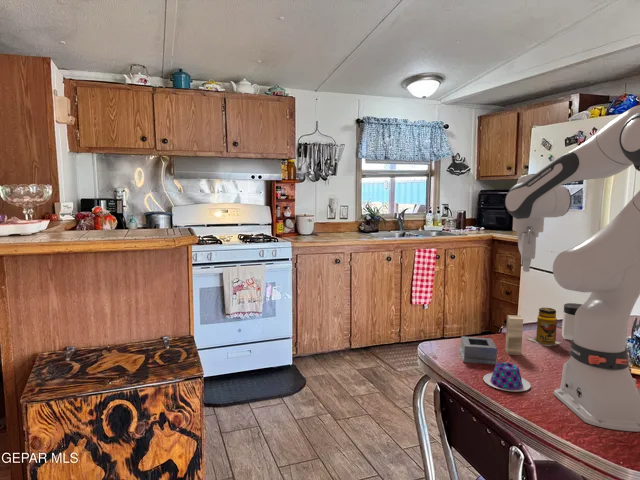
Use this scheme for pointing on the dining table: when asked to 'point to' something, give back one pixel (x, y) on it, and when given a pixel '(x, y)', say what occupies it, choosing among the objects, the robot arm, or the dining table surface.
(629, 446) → the dining table surface
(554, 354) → the dining table surface
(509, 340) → the wooden peg
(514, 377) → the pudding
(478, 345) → the socket holder
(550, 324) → the condiment
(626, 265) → the robot arm
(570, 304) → the jar
